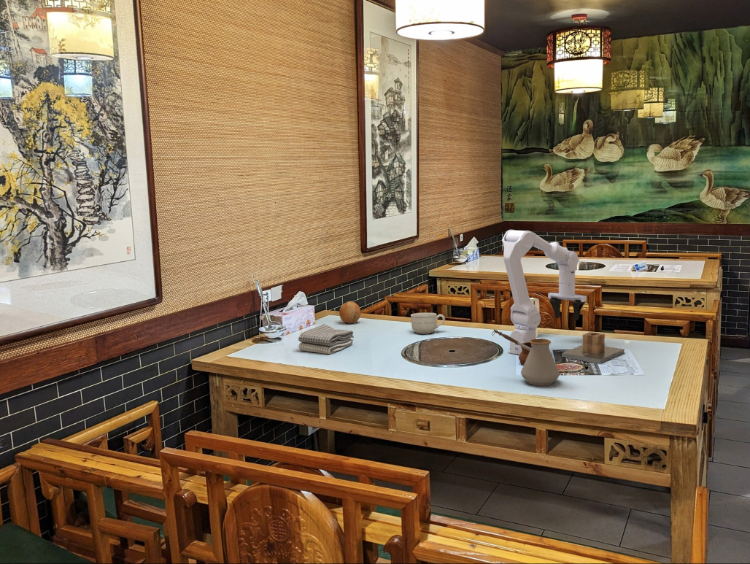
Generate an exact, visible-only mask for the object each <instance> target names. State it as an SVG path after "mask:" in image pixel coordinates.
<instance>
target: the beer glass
mask: <svg viewBox="0 0 750 564" xmlns="http://www.w3.org/2000/svg"><path fill="white" fill-rule="evenodd" d="M529 298H530V301H531V302H532V303H533V304H534V305H535V306H536V308H537V311H538V312H539V313H540V300H539V298H538V297H537V298H536V297H529ZM538 338H539V333H538V327H537V328H536V339H538Z"/></svg>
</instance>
